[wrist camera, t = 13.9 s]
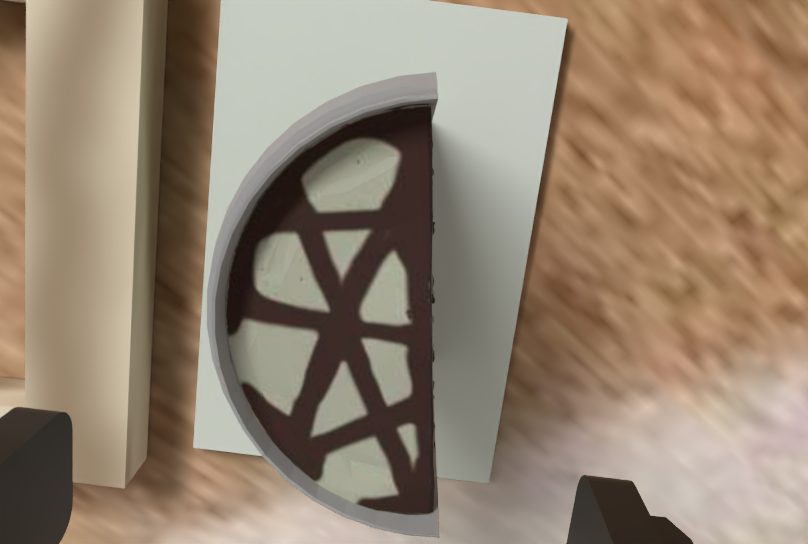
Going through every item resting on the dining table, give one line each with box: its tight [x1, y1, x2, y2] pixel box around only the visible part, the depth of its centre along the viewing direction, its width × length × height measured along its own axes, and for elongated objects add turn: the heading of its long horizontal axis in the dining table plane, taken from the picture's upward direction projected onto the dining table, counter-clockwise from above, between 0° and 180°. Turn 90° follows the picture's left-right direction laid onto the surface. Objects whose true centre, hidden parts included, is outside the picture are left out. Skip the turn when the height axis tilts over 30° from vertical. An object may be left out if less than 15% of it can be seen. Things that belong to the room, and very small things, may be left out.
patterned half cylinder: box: [207, 72, 439, 537], centre depth 23 cm, size 12×6×10 cm, turn 1°
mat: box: [193, 0, 568, 484], centre depth 28 cm, size 12×18×1 cm, turn 173°
